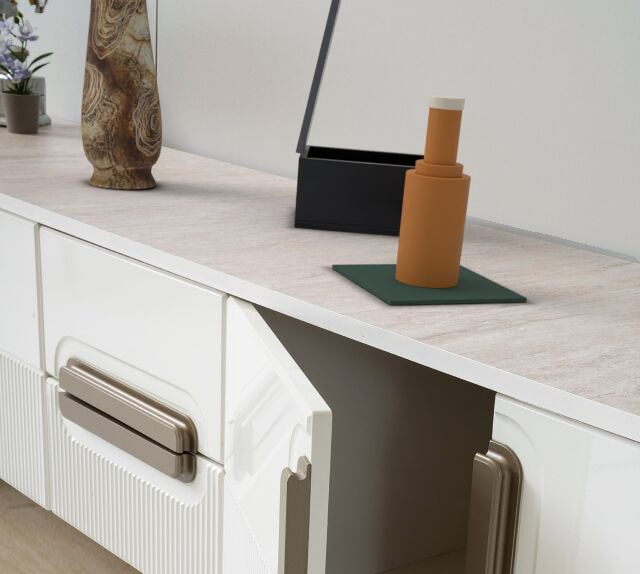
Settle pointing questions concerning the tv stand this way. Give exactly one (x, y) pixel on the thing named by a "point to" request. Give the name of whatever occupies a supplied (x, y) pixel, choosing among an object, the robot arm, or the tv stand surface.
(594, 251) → the tv stand surface
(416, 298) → the mat
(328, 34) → the lid
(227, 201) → the tv stand surface
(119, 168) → the vase
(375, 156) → the black rectangular box
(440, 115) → the bottle
